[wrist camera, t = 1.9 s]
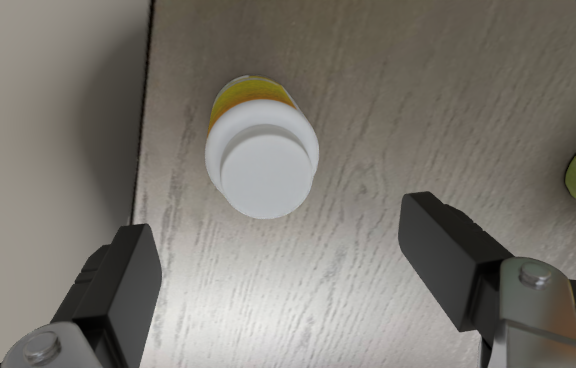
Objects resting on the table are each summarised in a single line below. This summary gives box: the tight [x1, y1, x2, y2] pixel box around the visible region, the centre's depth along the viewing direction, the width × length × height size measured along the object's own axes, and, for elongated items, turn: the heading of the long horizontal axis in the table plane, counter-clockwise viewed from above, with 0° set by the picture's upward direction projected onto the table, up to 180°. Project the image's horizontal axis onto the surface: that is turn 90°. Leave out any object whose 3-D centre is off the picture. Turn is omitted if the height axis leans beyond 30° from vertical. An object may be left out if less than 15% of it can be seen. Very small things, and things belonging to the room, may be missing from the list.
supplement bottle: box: [205, 75, 319, 219], centre depth 19 cm, size 6×6×10 cm
